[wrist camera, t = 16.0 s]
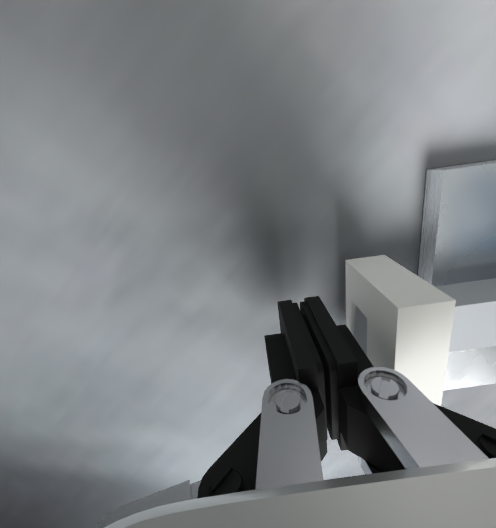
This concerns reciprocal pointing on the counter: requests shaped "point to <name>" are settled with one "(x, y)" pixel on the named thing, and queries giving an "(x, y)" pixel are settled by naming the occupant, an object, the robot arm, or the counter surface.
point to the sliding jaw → (416, 319)
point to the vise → (461, 250)
